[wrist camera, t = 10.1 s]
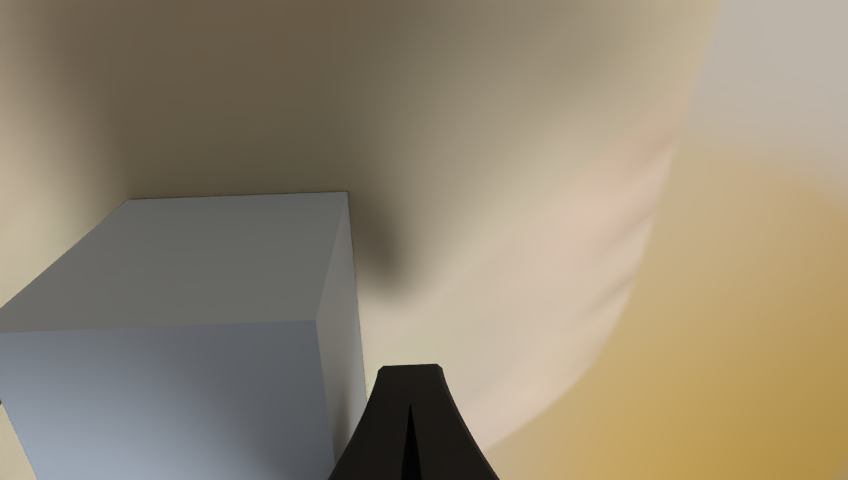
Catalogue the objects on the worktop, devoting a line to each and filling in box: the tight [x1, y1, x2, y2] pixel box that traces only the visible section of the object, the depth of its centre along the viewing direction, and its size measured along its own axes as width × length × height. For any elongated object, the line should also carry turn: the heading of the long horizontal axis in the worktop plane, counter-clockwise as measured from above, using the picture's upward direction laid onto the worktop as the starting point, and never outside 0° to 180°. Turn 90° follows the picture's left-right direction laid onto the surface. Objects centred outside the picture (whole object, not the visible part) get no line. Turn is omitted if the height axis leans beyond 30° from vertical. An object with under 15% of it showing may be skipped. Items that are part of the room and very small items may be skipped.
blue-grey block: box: [0, 192, 367, 480], centre depth 12 cm, size 7×5×5 cm
